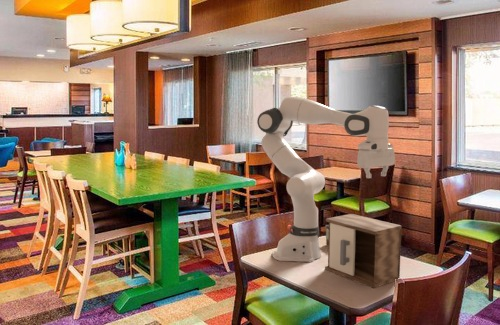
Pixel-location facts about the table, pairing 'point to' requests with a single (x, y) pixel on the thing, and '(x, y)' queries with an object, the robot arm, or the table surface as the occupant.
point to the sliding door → (342, 248)
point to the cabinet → (371, 249)
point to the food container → (327, 234)
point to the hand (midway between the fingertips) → (376, 177)
